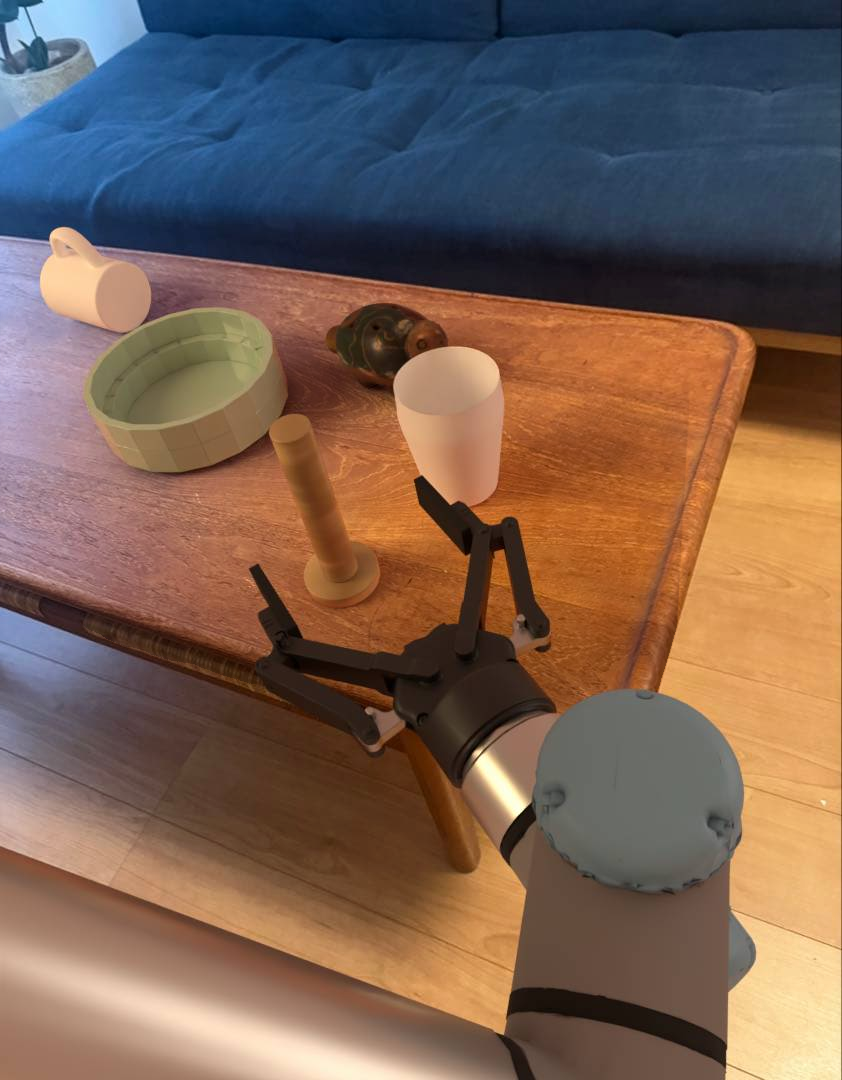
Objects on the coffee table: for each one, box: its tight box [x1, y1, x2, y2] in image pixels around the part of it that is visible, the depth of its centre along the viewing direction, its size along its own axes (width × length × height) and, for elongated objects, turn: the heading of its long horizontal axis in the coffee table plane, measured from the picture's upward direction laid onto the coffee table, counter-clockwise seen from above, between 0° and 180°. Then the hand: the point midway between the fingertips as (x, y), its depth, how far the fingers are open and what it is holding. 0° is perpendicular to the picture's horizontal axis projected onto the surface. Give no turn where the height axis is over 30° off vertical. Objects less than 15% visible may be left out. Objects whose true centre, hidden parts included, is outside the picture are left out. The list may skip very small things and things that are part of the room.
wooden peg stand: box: [268, 413, 381, 609], centre depth 64 cm, size 6×6×17 cm
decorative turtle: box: [325, 302, 449, 397], centre depth 84 cm, size 10×15×8 cm, turn 63°
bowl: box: [82, 306, 289, 473], centre depth 85 cm, size 20×20×6 cm
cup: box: [393, 346, 505, 508], centre depth 71 cm, size 9×9×12 cm
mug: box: [39, 226, 152, 334], centre depth 99 cm, size 8×10×12 cm
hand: (341, 532), depth 60 cm, fingers open, 13 cm apart
